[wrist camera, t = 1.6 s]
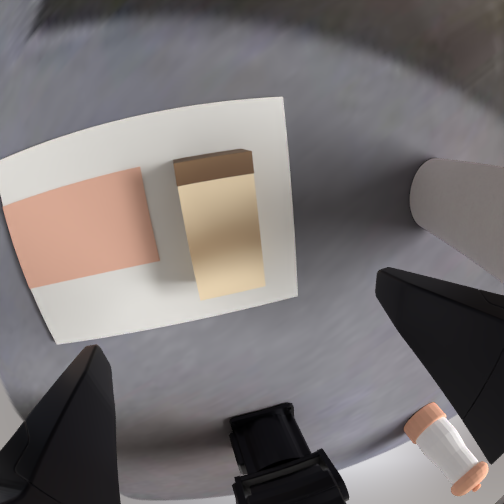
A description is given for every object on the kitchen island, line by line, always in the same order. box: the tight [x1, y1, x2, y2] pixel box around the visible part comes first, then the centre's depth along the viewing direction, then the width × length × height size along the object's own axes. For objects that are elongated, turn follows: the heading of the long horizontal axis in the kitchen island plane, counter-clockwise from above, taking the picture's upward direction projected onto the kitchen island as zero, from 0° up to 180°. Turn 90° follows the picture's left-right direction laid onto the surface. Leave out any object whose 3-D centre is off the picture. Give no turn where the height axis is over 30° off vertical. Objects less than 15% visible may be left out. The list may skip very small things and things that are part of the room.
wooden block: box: [173, 149, 266, 301], centre depth 18 cm, size 8×4×2 cm, turn 7°
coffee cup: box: [410, 158, 504, 284], centre depth 16 cm, size 10×10×15 cm
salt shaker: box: [404, 402, 488, 496], centre depth 32 cm, size 7×7×19 cm
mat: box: [0, 97, 298, 345], centre depth 18 cm, size 19×14×1 cm
